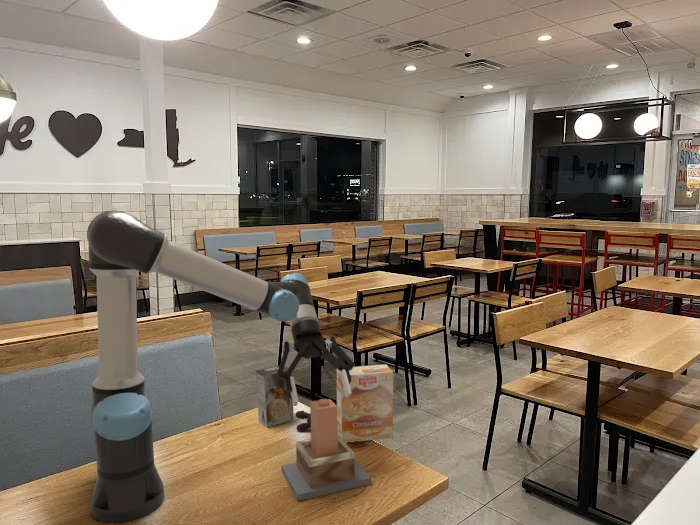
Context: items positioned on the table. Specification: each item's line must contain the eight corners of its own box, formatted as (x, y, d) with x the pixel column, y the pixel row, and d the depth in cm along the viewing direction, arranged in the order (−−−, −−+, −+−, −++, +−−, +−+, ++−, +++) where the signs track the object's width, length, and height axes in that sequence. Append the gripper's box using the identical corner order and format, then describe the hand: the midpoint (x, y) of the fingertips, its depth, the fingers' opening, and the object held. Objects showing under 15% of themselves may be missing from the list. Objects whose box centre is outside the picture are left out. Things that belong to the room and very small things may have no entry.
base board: (297, 501, 117) (297, 494, 117) (281, 471, 130) (281, 465, 130) (370, 484, 124) (370, 478, 124) (348, 457, 137) (348, 451, 137)
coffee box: (284, 413, 165) (283, 364, 163) (294, 420, 160) (292, 369, 158) (257, 420, 160) (255, 369, 158) (266, 428, 155) (264, 375, 153)
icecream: (347, 404, 156) (297, 407, 157) (344, 408, 149) (292, 411, 150) (348, 428, 155) (298, 431, 157) (345, 433, 148) (293, 436, 149)
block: (317, 458, 123) (316, 406, 122) (311, 449, 128) (310, 398, 126) (337, 454, 125) (337, 403, 124) (330, 445, 130) (329, 395, 128)
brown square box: (310, 487, 120) (309, 462, 119) (296, 465, 130) (296, 441, 129) (354, 478, 124) (354, 453, 123) (338, 457, 134) (337, 433, 133)
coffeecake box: (341, 444, 144) (340, 375, 142) (336, 433, 151) (335, 367, 149) (393, 438, 148) (393, 371, 145) (386, 427, 155) (386, 363, 152)
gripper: (344, 328, 148) (365, 398, 136) (256, 337, 139) (270, 413, 127) (351, 313, 142) (374, 386, 130) (260, 322, 133) (275, 400, 121)
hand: (323, 399), depth 128 cm, fingers open, 13 cm apart
